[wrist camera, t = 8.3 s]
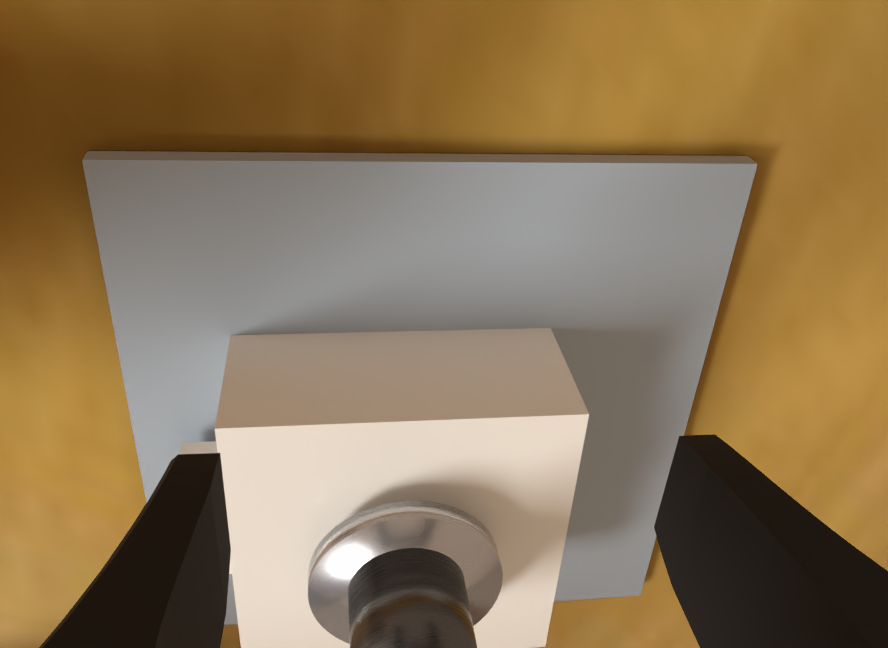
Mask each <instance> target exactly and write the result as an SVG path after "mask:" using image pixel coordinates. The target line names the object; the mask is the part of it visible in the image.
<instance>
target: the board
mask: <svg viewBox="0 0 888 648" xmlns="http://www.w3.org/2000/svg"><path fill="white" fill-rule="evenodd" d="M82 163H83V168H84V174H85V179H86V184H87V190H88V195H89V200H90V205H91V211H92V216H93V221H94V227H95V232H96V237H97V243H98V248H99V253H100V259H101V264H102V269H103V275H104V280H105V285H106V290H107V296H108V301H109V306H110V312H111V317H112V322H113V328H114V333H115V338H116V344H117V349H118V354H119V360H120V365H121V370H122V375H123V381H124V386H125V391H126V397H127V402H128V407H129V413H130V418H131V423H132V429H133V434H134V439H135V445H136V450H137V455H138V460H139V466H140V471H141V476H142V482H143V487H144V492H145V498H146V503H147V502H148V500H149V498H150V497H151V495H152V493H153V492H154V490H155V488H156V487H157V485H158V483H159V481H160V480H161V478H162V476H163V474H164V473H165V471H166V469H167V467H168V465H169V463H170V461H171V460H172V459H173V458H175V457H176V456H177V455H178V454H179V450H180V445H181V443H187V442H212V441H216V436H215V423H216V418H217V412H218V406H219V400H220V394H221V388H222V382H223V376H224V370H225V364H226V358H227V352H228V346H229V340H230V335H262V334H306V333H349V332H393V331H436V330H479V329H523V328H551V330H552V332H553V334H554V337H555V339H556V341H557V343H558V346H559V348H560V350H561V352H562V354H563V357H564V359H565V361H566V363H567V366H568V368H569V370H570V372H571V375H572V377H573V379H574V381H575V384H576V386H577V388H578V390H579V392H580V395H581V397H582V399H583V401H584V404H585V406H586V408H587V410H588V413H589V418H588V423H587V429H586V434H585V439H584V445H583V450H582V455H581V460H580V466H579V471H578V476H577V482H576V487H575V492H574V497H573V503H572V508H571V513H570V518H569V524H568V529H567V534H566V540H565V545H564V550H563V555H562V561H561V566H560V571H559V577H558V582H557V587H556V592H555V598H554V602H555V601H569V600H583V599H597V598H611V597H625V596H639V595H641V591H642V588H643V584H644V580H645V577H646V573H647V569H648V566H649V562H650V558H651V555H652V551H653V547H654V544H655V540H656V532H655V529H654V525H655V522H656V518H657V514H658V511H659V507H660V503H661V500H662V496H663V493H664V489H665V485H666V482H667V478H668V475H669V471H670V467H671V464H672V460H673V457H674V453H675V449H676V446H677V442H678V439H679V436H684V433H685V430H686V426H687V422H688V419H689V415H690V411H691V408H692V404H693V400H694V397H695V393H696V389H697V386H698V382H699V378H700V375H701V371H702V367H703V364H704V360H705V356H706V353H707V349H708V345H709V341H710V338H711V334H712V330H713V327H714V323H715V319H716V316H717V312H718V308H719V305H720V301H721V297H722V294H723V290H724V286H725V283H726V279H727V275H728V272H729V268H730V264H731V261H732V257H733V253H734V250H735V246H736V242H737V239H738V235H739V231H740V228H741V224H742V220H743V217H744V213H745V209H746V205H747V202H748V198H749V194H750V191H751V187H752V183H753V180H754V176H755V172H756V169H757V165H758V164H757V163H756V162H755V161H754V160H752V159H751V158H750V157H749V156H707V155H571V154H436V153H300V152H165V151H88V152H87V153H86V155H85V156H84V158H83V159H82ZM232 624H238V619H237V611H236V603H235V594H234V586H233V578H232V574H229V583H228V595H227V608H226V616H225V622H224V625H232Z"/></svg>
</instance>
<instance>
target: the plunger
mask: <svg viewBox="0 0 888 648" xmlns="http://www.w3.org/2000/svg"><path fill="white" fill-rule="evenodd" d="M502 580H503V573H502V566H501V562H500V558H499V554H498V549H497V546H496V543H495V541H494V539H493V537H492V535H491V533H490V532H489V531H488V529H487V528H486V527H485V526H484V525H483V524H482V523H481V522H480V521H478V520H477V519H476V518H475V517H473V516H471V515H470V514H468V513H466V512H464V511H462V510H460V509H458V508H455V507H452V506H449V505H445V504H440V503H435V502H427V501H402V502H393V503H388V504H383V505H379V506H376V507H372V508H369V509H367V510H364V511H362V512H359V513H357V514H355V515H353V516H351V517H349V518H347V519H346V520H344V521H343V522H341V523H340V524H338V525H337V526H335V527H334V528H333V529H332V530H331V531H330V532H329V533H328V534H327V535H326V536H325V537H324V538H323V539H322V540H321V541H320V543H319V544H318V546H317V547H316V549H315V551H314V553H313V555H312V557H311V560H310V564H309V569H308V600H309V605H310V608H311V611H312V613H313V615H314V617H315V618H316V620H317V621H318V622H319V624H320V625H321V626H322V627H323V628H324V629H325V630H326V631H328V632H329V633H330V634H331V635H333V636H335V637H336V638H338V639H340V640H342V641H344V642H346V643H348V644H350V648H477V644H476V638H475V633H474V628H473V626H474V625H476V624H477V623H478V622H479V621H480V620H481V619H482V618H483V617H484V616H486V614H487V613H488V612H489V611H490V609H491V608H492V607H493V605H494V604H495V602H496V600H497V598H498V596H499V593H500V591H501V587H502Z"/></svg>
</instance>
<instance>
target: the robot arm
mask: <svg viewBox="0 0 888 648" xmlns="http://www.w3.org/2000/svg"><path fill="white" fill-rule="evenodd" d="M654 529H655V532H656V536H657V539H658V542H659V546H660V549H661V553H662V556H663V559H664V562H665V565H666V569H667V572H668V575H669V578H670V581H671V584H672V586H673V589H674V591H675V593H676V596H677V598H678V600H679V602H680V604H681V607H682V609H683V611H684V613H685V616H686V618H687V620H688V622H689V624H690V627H691V629H692V631H693V633H694V635H695V637H696V640H697V642H698V644H699V646H700V648H888V571H887V570H885V569H884V568H882V567H881V566H880V565H878V564H877V563H876V562H874V561H873V560H872V559H870V558H869V557H867V556H866V555H865V554H863V553H862V552H861V551H859V550H858V549H856V548H855V547H854V546H852V545H851V544H850V543H848V542H847V541H846V540H844V539H843V538H842V537H841V536H839V535H838V534H837V533H835V532H834V531H833V530H831V529H830V528H829V527H828V526H826V525H825V524H824V523H823V522H821V521H820V520H819V519H818V518H816V517H815V516H814V515H813V514H811V513H810V512H809V511H808V510H806V509H805V508H804V507H803V506H801V505H800V504H799V503H798V502H797V501H795V500H794V499H793V498H792V497H790V496H789V495H788V494H787V493H786V492H784V491H783V490H782V489H781V488H780V487H778V486H777V485H776V484H775V483H774V482H772V481H771V480H770V479H769V478H768V477H766V476H765V475H764V474H763V473H762V472H760V471H759V470H758V469H757V468H756V467H754V466H753V465H752V464H751V463H750V462H748V461H747V460H746V459H745V458H744V457H742V456H741V455H740V454H739V453H738V452H736V451H735V450H734V449H733V448H731V447H730V446H729V445H728V444H727V443H725V442H724V441H723V440H721V439H720V438H719V437H717V436H716V435H692V436H679V439H678V442H677V446H676V449H675V453H674V457H673V460H672V464H671V467H670V471H669V475H668V478H667V482H666V485H665V489H664V493H663V496H662V500H661V503H660V507H659V511H658V514H657V518H656V522H655V525H654ZM230 555H231V546H230V537H229V528H228V519H227V510H226V501H225V492H224V483H223V474H222V465H221V456H220V453H204V454H178V455H177V456H176V457H175V458H173V459H172V460H171V461H170V463H169V465H168V467H167V469H166V471H165V473H164V474H163V476H162V478H161V480H160V481H159V483H158V485H157V487H156V488H155V490H154V492H153V493H152V495H151V497H150V498H149V500H148V502H147V503H146V505H145V506H144V508H143V510H142V511H141V513H140V514H139V516H138V517H137V519H136V521H135V522H134V524H133V525H132V527H131V528H130V530H129V531H128V532H127V534H126V535H125V537H124V538H123V540H122V541H121V543H120V544H119V546H118V547H117V548H116V550H115V551H114V553H113V554H112V556H111V557H110V559H109V560H108V561H107V563H106V564H105V566H104V567H103V568H102V570H101V571H100V573H99V574H98V575H97V577H96V578H95V579H94V580H93V582H92V583H91V584H90V586H89V587H88V588H87V589H86V591H85V592H84V593H83V595H82V596H81V597H80V598H79V600H78V601H77V602H76V604H75V605H74V606H73V608H72V609H71V610H70V611H69V613H68V614H67V615H66V617H65V618H64V619H63V620H62V621H61V623H60V624H59V625H58V626H57V627H56V629H55V630H54V631H53V632H52V633H51V635H50V636H49V637H48V638H47V639H46V640H45V642H44V643H43V644H42V645H41V646H40V647H39V648H220V644H221V638H222V633H223V628H224V622H225V616H226V608H227V595H228V583H229V569H230Z"/></svg>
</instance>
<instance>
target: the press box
mask: <svg viewBox="0 0 888 648" xmlns="http://www.w3.org/2000/svg"><path fill="white" fill-rule="evenodd" d="M588 418H589V413H588V410H587V408H586V406H585V404H584V401H583V399H582V397H581V395H580V392H579V390H578V388H577V386H576V384H575V381H574V379H573V377H572V375H571V372H570V370H569V368H568V366H567V363H566V361H565V359H564V357H563V354H562V352H561V350H560V348H559V346H558V343H557V341H556V339H555V337H554V334H553V332H552V330H551V328H523V329H479V330H436V331H393V332H349V333H306V334H262V335H230V340H229V346H228V352H227V358H226V364H225V370H224V376H223V382H222V388H221V394H220V400H219V406H218V412H217V418H216V423H215V436H216V441H212V442H187V443H181V445H180V450H179V454H204V453H220V456H221V465H222V474H223V483H224V492H225V501H226V510H227V519H228V528H229V537H230V546H231V555H230V569H229V574H232V578H233V586H234V594H235V603H236V611H237V619H238V628H239V636H240V644H241V648H350V644H348V643H346V642H344V641H342V640H340V639H338V638H336V637H335V636H333V635H331V634H330V633H329V632H328V631H326V630H325V629H324V628H323V627H322V626H321V625H320V624H319V622H318V621H317V620H316V618H315V617H314V615H313V613H312V611H311V608H310V605H309V600H308V569H309V564H310V560H311V557H312V555H313V553H314V551H315V549H316V547H317V546H318V544H319V543H320V541H321V540H322V539H323V538H324V537H325V536H326V535H327V534H328V533H329V532H330V531H331V530H332V529H333V528H334V527H335V526H337V525H338V524H340V523H341V522H343V521H344V520H346V519H347V518H349V517H351V516H353V515H355V514H357V513H359V512H362V511H364V510H367V509H369V508H372V507H376V506H379V505H383V504H388V503H393V502H402V501H427V502H435V503H440V504H445V505H449V506H452V507H455V508H458V509H460V510H462V511H464V512H466V513H468V514H470V515H471V516H473V517H475V518H476V519H477V520H478V521H480V522H481V523H482V524H483V525H484V526H485V527H486V528H487V529H488V531H489V532H490V533H491V535H492V537H493V539H494V541H495V543H496V546H497V549H498V554H499V558H500V562H501V566H502V573H503V580H502V587H501V591H500V593H499V596H498V598H497V600H496V602H495V604H494V605H493V607H492V608H491V609H490V611H489V612H488V613H487V614H486V616H484V617H483V618H482V619H481V620H480V621H479V622H478V623H477V624H476V625H474V626H473V628H474V633H475V638H476V644H477V648H534V647H545V645H546V640H547V635H548V629H549V624H550V619H551V613H552V608H553V603H554V598H555V592H556V587H557V582H558V577H559V571H560V566H561V561H562V555H563V550H564V545H565V540H566V534H567V529H568V524H569V518H570V513H571V508H572V503H573V497H574V492H575V487H576V482H577V476H578V471H579V466H580V460H581V455H582V450H583V445H584V439H585V434H586V429H587V423H588Z"/></svg>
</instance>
